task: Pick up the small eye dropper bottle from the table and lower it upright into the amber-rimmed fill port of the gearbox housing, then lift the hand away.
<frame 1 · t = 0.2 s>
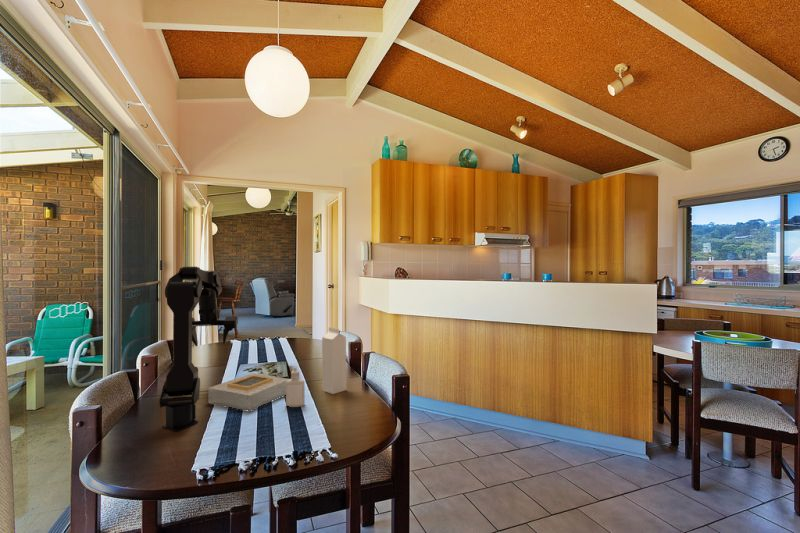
hand: (210, 345, 137), 15 cm above the table, tool pointing down, fingers open, 9 cm apart
milk: (334, 390, 133), on the table
eye dropper bottle: (295, 405, 118), on the table
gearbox: (250, 398, 125), on the table
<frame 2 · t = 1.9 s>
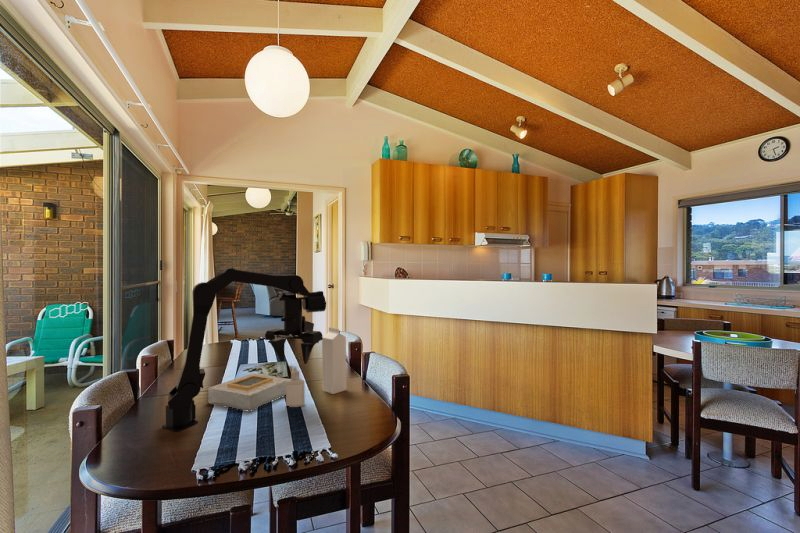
hand: (293, 362, 120), 13 cm above the table, tool pointing down, fingers open, 9 cm apart
nothing on the table moved.
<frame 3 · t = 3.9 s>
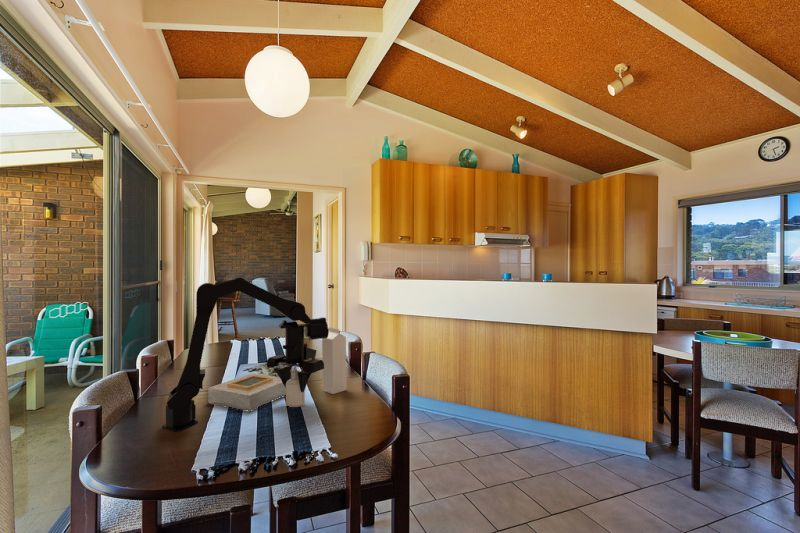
hand: (295, 390, 118), 5 cm above the table, tool pointing down, fingers closed on eye dropper bottle, 6 cm apart
eye dropper bottle: (295, 405, 118), on the table, touching gripper
everything else where it was.
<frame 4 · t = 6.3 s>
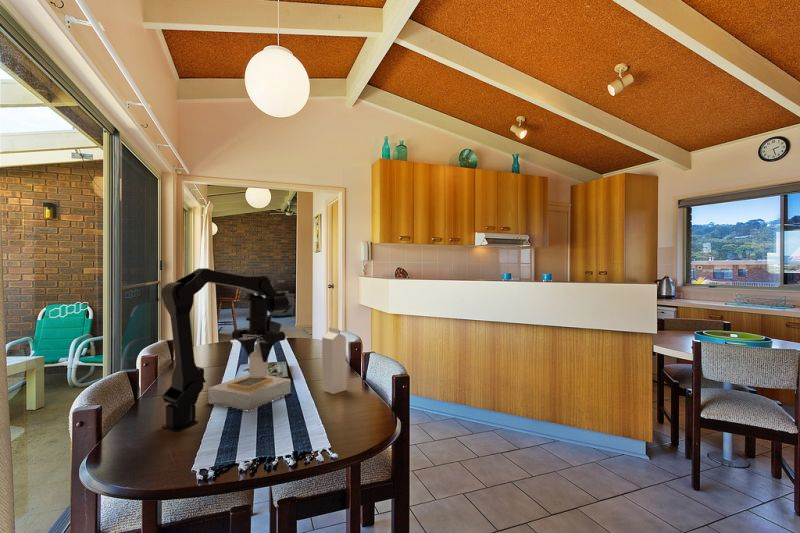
hand: (258, 361, 124), 13 cm above the table, tool pointing down, fingers closed on eye dropper bottle, 6 cm apart
eye dropper bottle: (258, 377, 124), point 7 cm above the table, touching gripper
everything else where it was.
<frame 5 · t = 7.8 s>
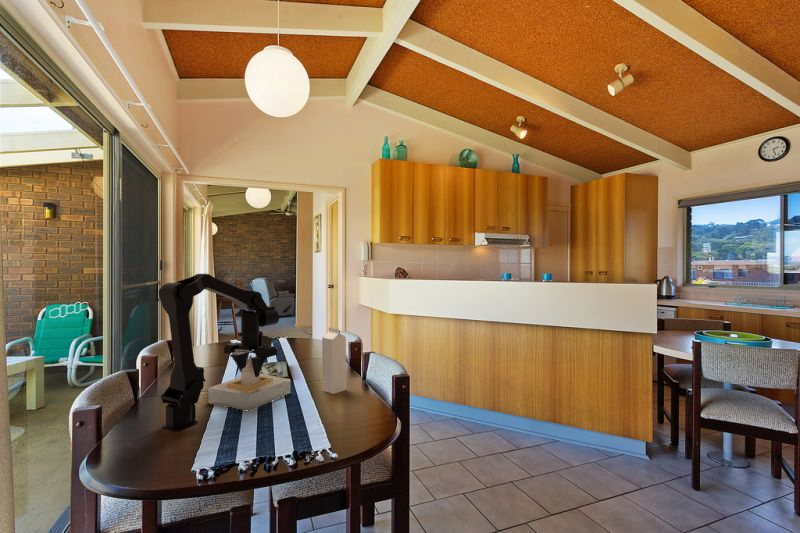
hand: (250, 375, 125), 8 cm above the table, tool pointing down, fingers closed on eye dropper bottle, 6 cm apart
eye dropper bottle: (250, 392, 125), point 2 cm above the table, touching gripper
everything else where it was.
when the fingers open (7 cm above the table, at t = 8.8 s): eye dropper bottle stays where it is, resting on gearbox.
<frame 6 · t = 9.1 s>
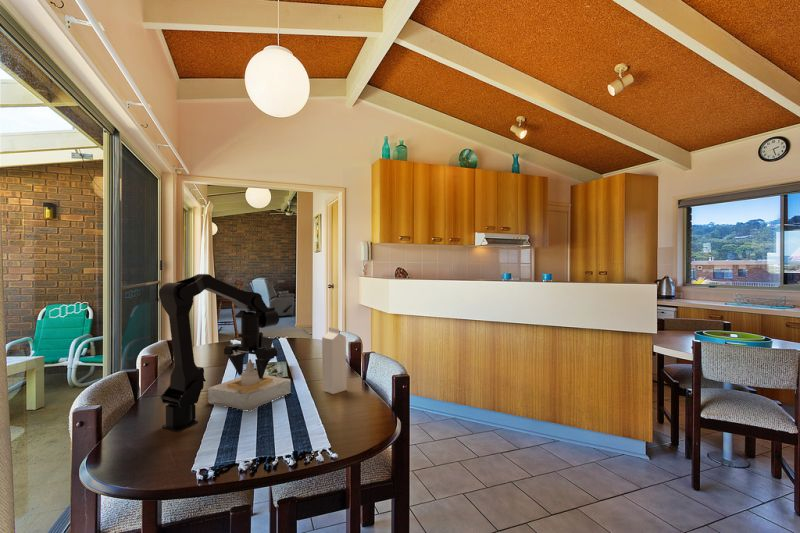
hand: (250, 376, 125), 7 cm above the table, tool pointing down, fingers open, 9 cm apart
eye dropper bottle: (250, 395, 125), point 1 cm above the table, touching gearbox
everything else where it was.
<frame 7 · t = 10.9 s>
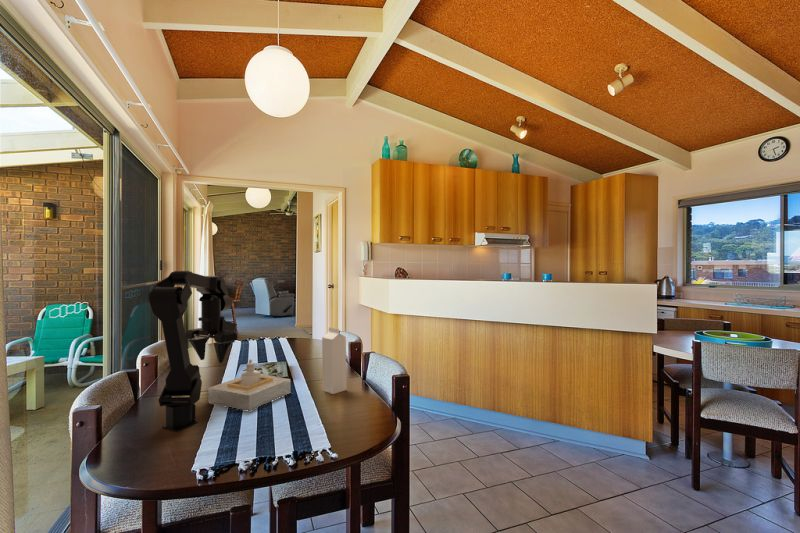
hand: (211, 361, 123), 13 cm above the table, tool pointing down, fingers open, 9 cm apart
nothing on the table moved.
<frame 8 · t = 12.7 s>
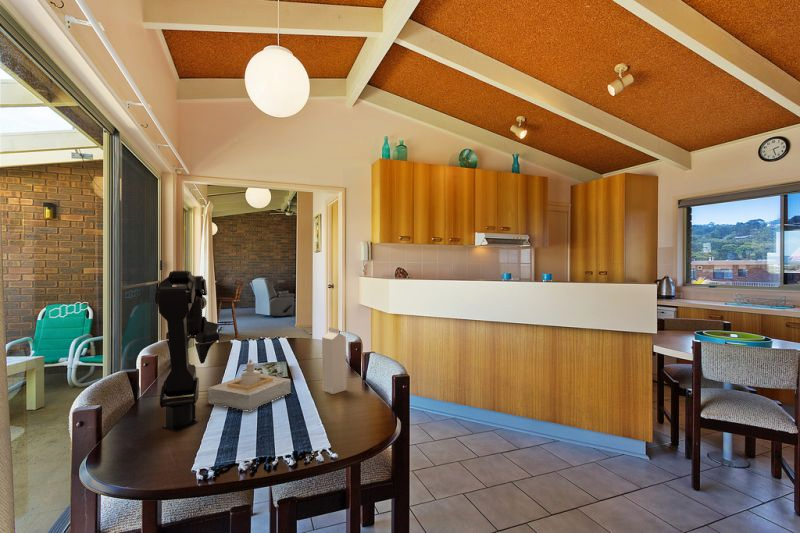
hand: (192, 361, 122), 13 cm above the table, tool pointing down, fingers open, 9 cm apart
nothing on the table moved.
at the end: eye dropper bottle 0.0 cm off-centre on the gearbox, point 0.8 cm above the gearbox's base; eye dropper bottle tilted 0°; the gripper is holding nothing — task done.
